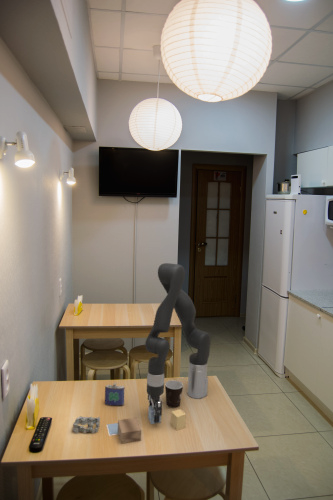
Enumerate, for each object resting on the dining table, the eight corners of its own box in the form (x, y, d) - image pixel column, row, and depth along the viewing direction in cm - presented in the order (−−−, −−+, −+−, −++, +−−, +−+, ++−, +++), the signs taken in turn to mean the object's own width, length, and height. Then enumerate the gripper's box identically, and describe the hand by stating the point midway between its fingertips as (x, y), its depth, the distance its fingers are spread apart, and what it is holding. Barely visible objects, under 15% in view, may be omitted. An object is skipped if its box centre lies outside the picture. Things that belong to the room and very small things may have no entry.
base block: (136, 427, 151) (136, 417, 150) (140, 441, 144) (141, 430, 143) (117, 430, 149) (118, 420, 148) (121, 444, 141) (121, 433, 140)
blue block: (157, 417, 160) (158, 404, 160) (160, 423, 156) (161, 410, 155) (148, 418, 159) (148, 406, 158) (150, 424, 155) (151, 411, 154)
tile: (124, 422, 155) (124, 421, 155) (127, 433, 148) (127, 432, 148) (106, 425, 153) (106, 424, 153) (109, 435, 146) (109, 435, 146)
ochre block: (179, 421, 158) (180, 409, 157) (185, 427, 154) (185, 414, 153) (170, 424, 155) (171, 411, 155) (176, 430, 151) (177, 417, 151)
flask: (124, 403, 170) (125, 382, 169) (123, 406, 167) (124, 385, 166) (105, 402, 171) (105, 381, 169) (103, 405, 168) (104, 384, 166)
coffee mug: (173, 397, 177) (173, 378, 176) (185, 404, 171) (186, 385, 170) (155, 405, 169) (156, 386, 168) (168, 413, 163) (169, 393, 162)
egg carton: (71, 434, 146) (71, 424, 146) (76, 423, 154) (76, 414, 153) (97, 435, 146) (97, 426, 146) (101, 424, 154) (101, 415, 153)
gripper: (168, 388, 150) (166, 425, 152) (159, 373, 163) (157, 407, 165) (151, 390, 148) (149, 427, 149) (143, 375, 161) (141, 409, 163)
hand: (153, 416), depth 157 cm, fingers open, 8 cm apart
